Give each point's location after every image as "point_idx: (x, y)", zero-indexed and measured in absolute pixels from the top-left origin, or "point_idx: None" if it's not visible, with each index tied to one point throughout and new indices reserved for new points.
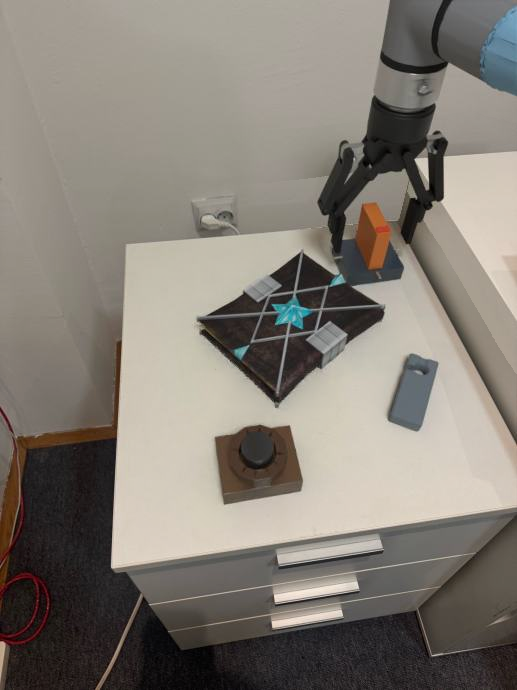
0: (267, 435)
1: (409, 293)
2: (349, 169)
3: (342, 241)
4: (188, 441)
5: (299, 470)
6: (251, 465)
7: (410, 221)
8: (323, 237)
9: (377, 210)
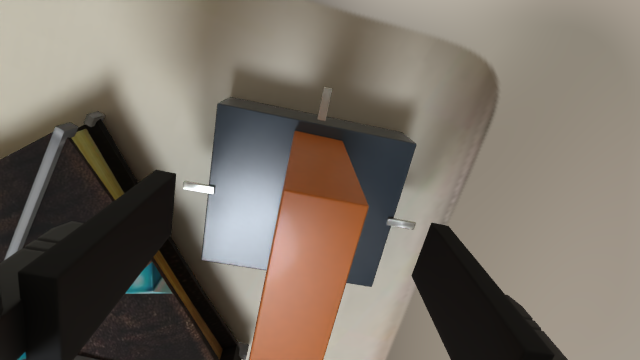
0: None
1: (355, 302)
2: None
3: (248, 119)
4: None
5: None
6: None
7: (451, 327)
8: (234, 8)
9: (334, 268)
